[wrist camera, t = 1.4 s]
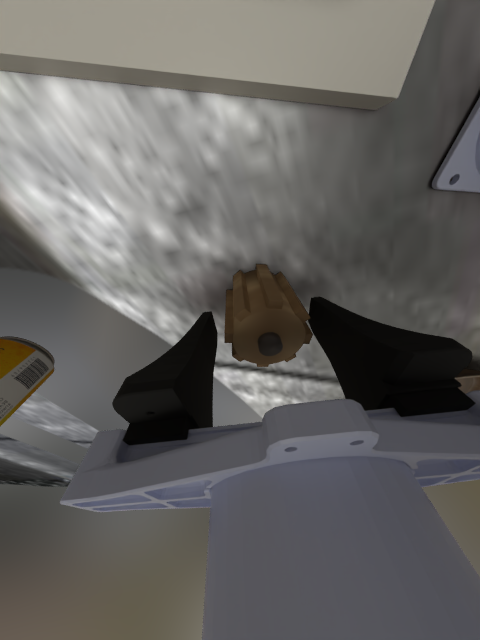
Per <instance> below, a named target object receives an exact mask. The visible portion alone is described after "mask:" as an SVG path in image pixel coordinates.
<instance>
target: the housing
mask: <svg viewBox="0 0 480 640" xmlns="http://www.w3.org/2000/svg"><path fill="white" fill-rule="evenodd" d="M434 2H435V0H0V70H2V71H12V72H21V73H31V74H40V75H49V76H59V77H68V78H77V79H87V80H96V81H105V82H115V83H124V84H134V85H143V86H152V87H162V88H171V89H180V90H190V91H199V92H208V93H218V94H227V95H237V96H246V97H255V98H265V99H274V100H283V101H293V102H302V103H311V104H321V105H330V106H340V107H349V108H358V109H368V110H377V109H379V108H381V107H383V106H385V105H386V104H388V103H390V102H392V101H393V100H395V99H397V98H398V96H399V94H400V91H401V89H402V86H403V83H404V81H405V78H406V75H407V73H408V70H409V68H410V65H411V62H412V60H413V57H414V55H415V52H416V49H417V47H418V44H419V42H420V39H421V36H422V34H423V31H424V28H425V26H426V23H427V21H428V18H429V15H430V13H431V10H432V8H433V5H434Z"/></svg>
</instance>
